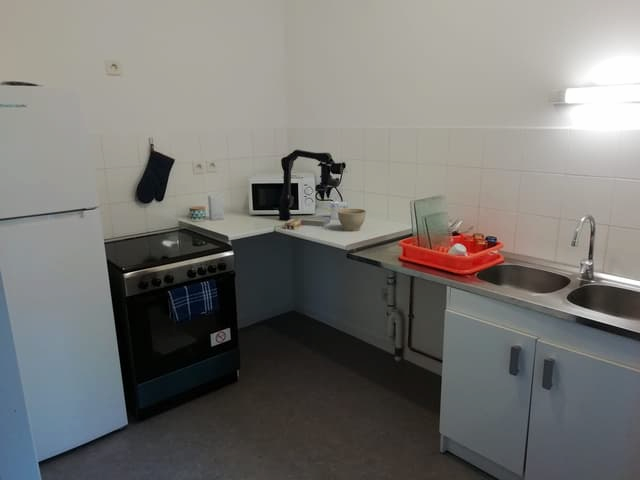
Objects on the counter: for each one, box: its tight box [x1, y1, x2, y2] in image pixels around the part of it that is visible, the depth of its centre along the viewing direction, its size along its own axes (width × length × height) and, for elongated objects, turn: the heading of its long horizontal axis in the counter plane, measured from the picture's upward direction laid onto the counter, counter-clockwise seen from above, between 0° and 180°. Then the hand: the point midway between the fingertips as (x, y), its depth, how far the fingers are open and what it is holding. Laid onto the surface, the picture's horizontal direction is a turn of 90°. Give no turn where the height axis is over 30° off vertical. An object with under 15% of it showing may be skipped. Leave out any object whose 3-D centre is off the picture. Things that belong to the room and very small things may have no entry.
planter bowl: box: [338, 208, 367, 232], centre depth 286 cm, size 16×16×11 cm
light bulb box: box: [330, 201, 348, 220], centre depth 317 cm, size 11×7×11 cm, turn 84°
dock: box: [297, 215, 331, 227], centre depth 303 cm, size 16×13×3 cm
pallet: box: [284, 219, 302, 230], centre depth 292 cm, size 6×10×4 cm, turn 161°
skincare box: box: [207, 193, 225, 222], centre depth 315 cm, size 8×7×16 cm
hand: (325, 199), depth 302 cm, fingers open, 9 cm apart
